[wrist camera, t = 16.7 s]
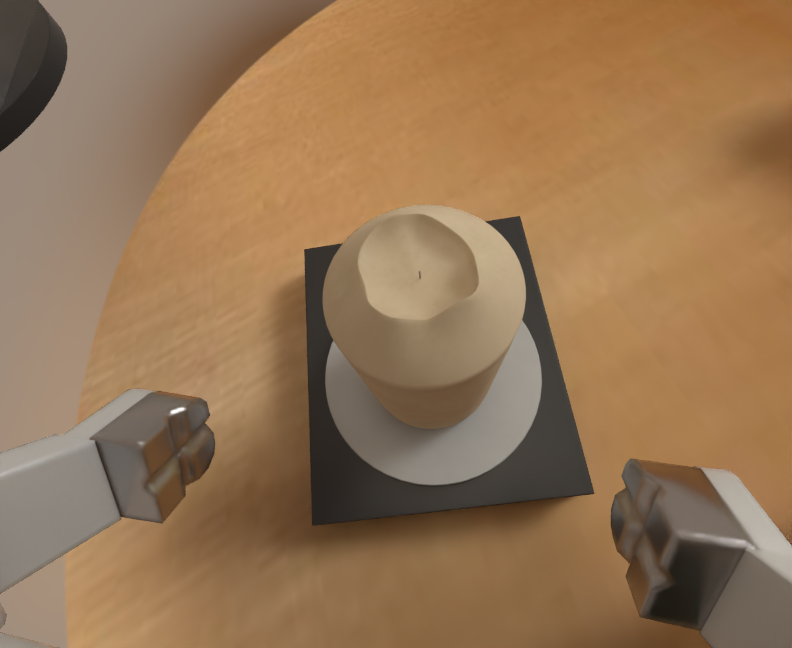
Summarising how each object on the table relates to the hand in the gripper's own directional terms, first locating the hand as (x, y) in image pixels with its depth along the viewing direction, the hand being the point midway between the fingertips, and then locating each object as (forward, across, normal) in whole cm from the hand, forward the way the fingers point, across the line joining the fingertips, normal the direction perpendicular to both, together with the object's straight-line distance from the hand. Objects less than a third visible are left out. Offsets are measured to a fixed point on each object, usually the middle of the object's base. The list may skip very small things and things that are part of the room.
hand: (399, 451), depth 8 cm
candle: (+10, 0, +4) cm, 11 cm away
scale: (+13, 0, +5) cm, 14 cm away
